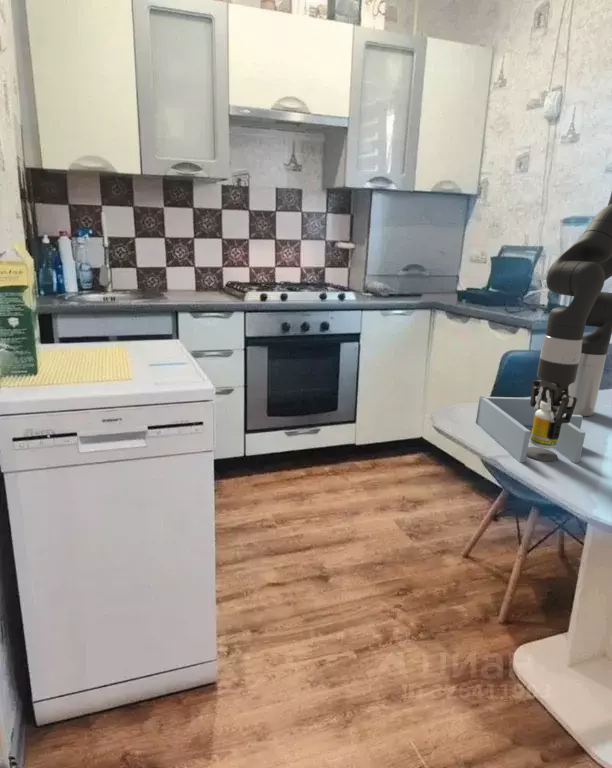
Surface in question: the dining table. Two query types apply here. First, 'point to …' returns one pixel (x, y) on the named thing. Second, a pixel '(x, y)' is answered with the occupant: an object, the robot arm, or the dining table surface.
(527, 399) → the channel
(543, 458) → the pad
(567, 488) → the dining table surface
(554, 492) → the dining table surface
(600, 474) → the dining table surface
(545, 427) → the supplement bottle
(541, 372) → the robot arm
